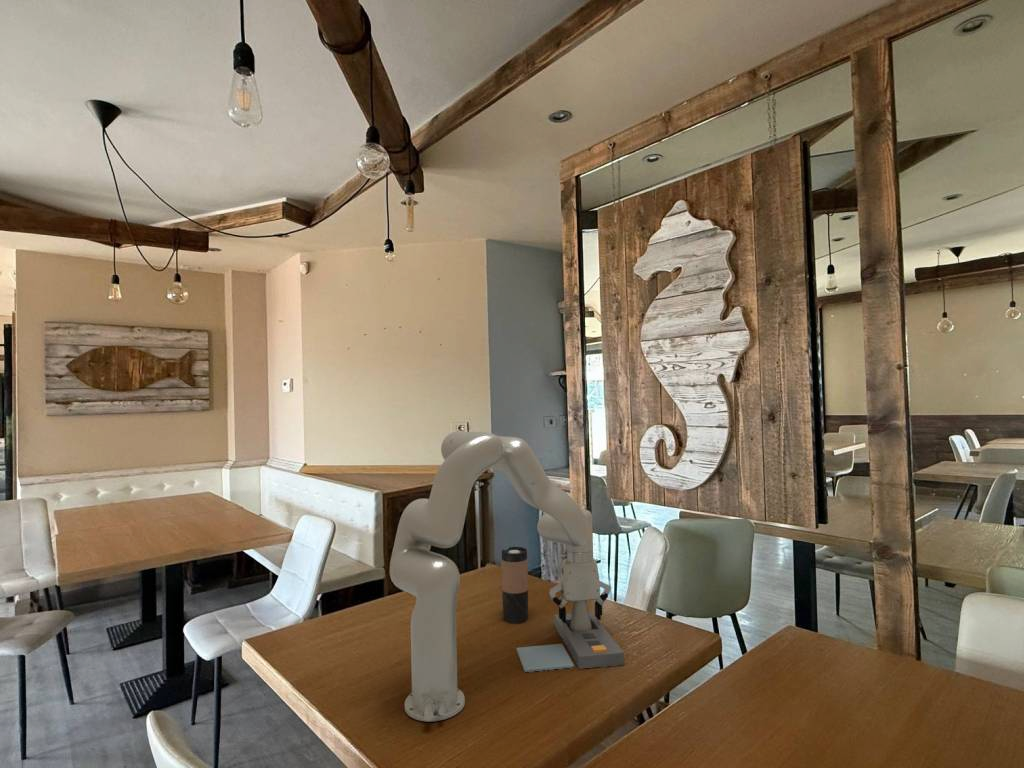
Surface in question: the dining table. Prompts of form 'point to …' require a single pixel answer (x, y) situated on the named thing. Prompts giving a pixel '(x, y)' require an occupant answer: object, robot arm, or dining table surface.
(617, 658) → the power strip
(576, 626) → the salt shaker
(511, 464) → the robot arm
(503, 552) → the travel mug
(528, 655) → the rubber mat
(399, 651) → the dining table surface
